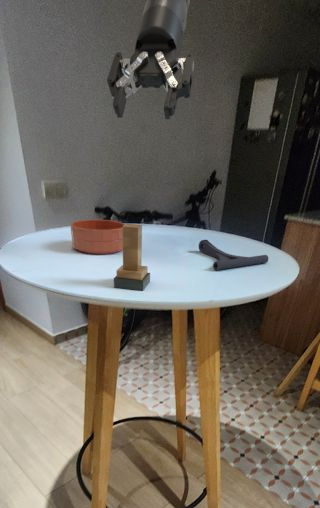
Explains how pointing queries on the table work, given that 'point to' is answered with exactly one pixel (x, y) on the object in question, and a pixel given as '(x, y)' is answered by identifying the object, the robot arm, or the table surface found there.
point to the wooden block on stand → (132, 260)
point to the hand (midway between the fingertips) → (142, 114)
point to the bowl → (97, 236)
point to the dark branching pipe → (229, 257)
